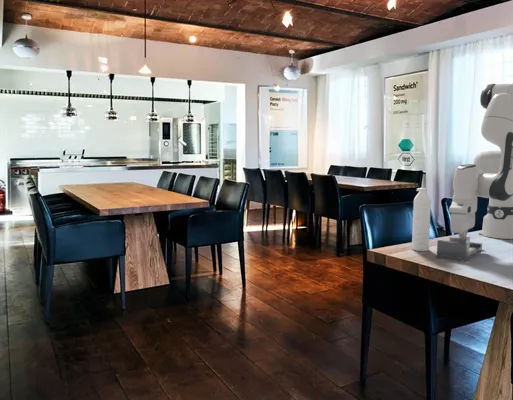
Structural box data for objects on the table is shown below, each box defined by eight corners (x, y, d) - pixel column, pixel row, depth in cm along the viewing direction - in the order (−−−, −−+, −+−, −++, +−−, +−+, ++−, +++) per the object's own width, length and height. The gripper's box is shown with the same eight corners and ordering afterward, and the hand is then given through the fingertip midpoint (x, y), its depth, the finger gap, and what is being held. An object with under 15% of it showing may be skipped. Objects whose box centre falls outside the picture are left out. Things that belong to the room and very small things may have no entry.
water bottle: (414, 247, 187) (416, 186, 184) (430, 249, 184) (433, 187, 181) (408, 251, 180) (410, 188, 177) (425, 253, 177) (427, 189, 174)
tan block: (452, 247, 179) (453, 235, 179) (469, 250, 176) (469, 237, 175) (449, 250, 176) (449, 237, 175) (465, 252, 172) (466, 239, 171)
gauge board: (455, 246, 189) (456, 231, 189) (481, 249, 183) (482, 234, 182) (436, 256, 171) (437, 240, 170) (465, 261, 165) (466, 244, 164)
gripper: (463, 203, 187) (461, 236, 188) (447, 208, 171) (446, 244, 173) (480, 204, 183) (478, 238, 184) (465, 209, 167) (463, 246, 169)
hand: (462, 241), depth 178 cm, fingers closed
